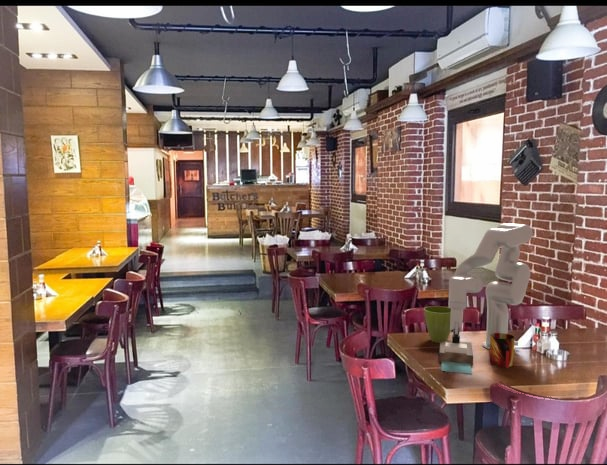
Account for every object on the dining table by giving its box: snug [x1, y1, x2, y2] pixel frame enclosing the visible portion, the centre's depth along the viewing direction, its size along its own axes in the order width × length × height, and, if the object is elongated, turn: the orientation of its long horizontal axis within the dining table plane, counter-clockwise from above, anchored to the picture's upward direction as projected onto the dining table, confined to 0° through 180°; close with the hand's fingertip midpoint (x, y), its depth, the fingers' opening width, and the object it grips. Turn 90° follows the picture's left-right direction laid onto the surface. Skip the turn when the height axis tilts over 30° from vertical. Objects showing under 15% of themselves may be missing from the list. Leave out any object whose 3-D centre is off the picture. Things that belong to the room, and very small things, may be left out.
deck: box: [438, 339, 474, 366], centre depth 225 cm, size 14×20×4 cm
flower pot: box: [423, 305, 452, 344], centre depth 248 cm, size 15×15×16 cm
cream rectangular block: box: [445, 342, 467, 354], centre depth 220 cm, size 9×6×2 cm, turn 73°
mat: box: [440, 361, 473, 375], centre depth 210 cm, size 12×12×1 cm
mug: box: [489, 333, 515, 369], centre depth 214 cm, size 10×14×12 cm
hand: (455, 344), depth 224 cm, fingers closed
